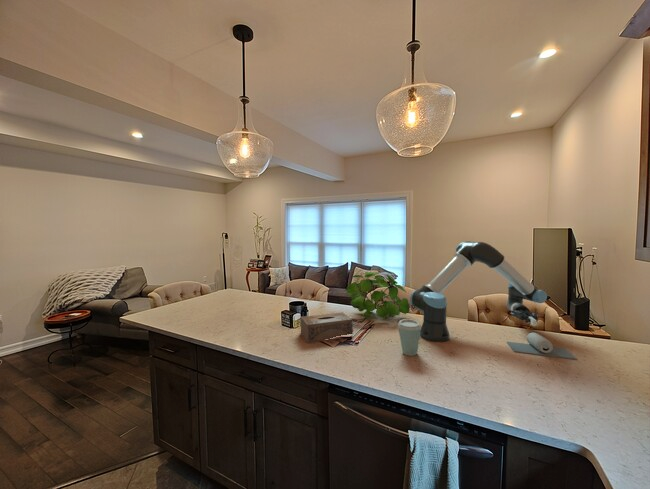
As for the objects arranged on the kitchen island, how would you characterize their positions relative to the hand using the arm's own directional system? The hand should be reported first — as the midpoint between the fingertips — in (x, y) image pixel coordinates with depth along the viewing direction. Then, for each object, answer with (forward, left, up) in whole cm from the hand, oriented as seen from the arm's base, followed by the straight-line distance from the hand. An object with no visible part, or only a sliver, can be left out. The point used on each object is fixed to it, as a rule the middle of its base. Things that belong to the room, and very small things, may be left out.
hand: (534, 322), depth 137 cm
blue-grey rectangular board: (0, -8, -11) cm, 14 cm away
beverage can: (-1, -1, -8) cm, 8 cm away
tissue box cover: (-104, -24, -11) cm, 108 cm away
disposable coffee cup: (-59, -32, -11) cm, 69 cm away
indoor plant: (-84, +23, -11) cm, 88 cm away
